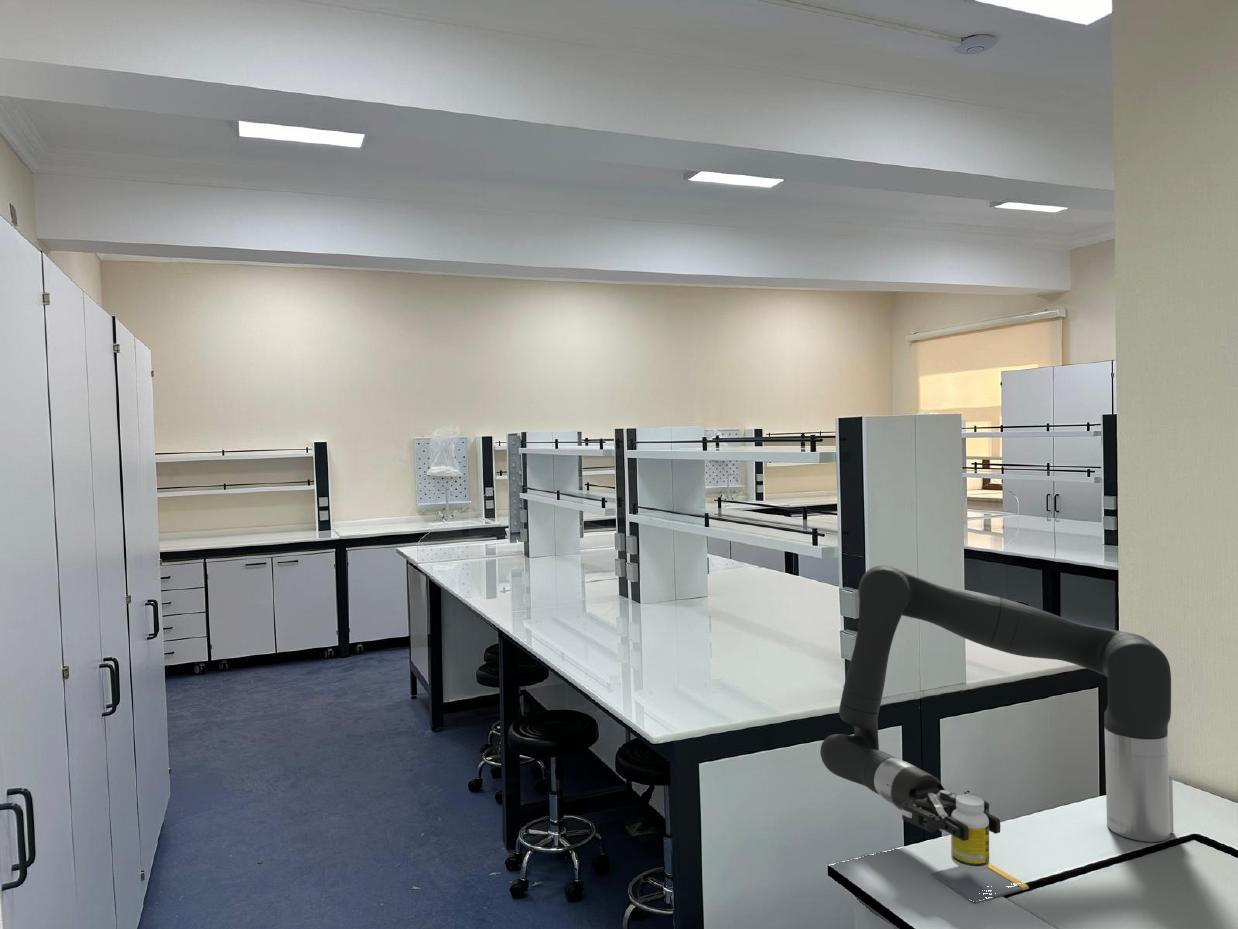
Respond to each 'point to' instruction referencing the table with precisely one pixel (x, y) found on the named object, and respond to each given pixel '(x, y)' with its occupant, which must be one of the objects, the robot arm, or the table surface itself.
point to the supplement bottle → (971, 833)
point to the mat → (979, 882)
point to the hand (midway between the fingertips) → (982, 830)
